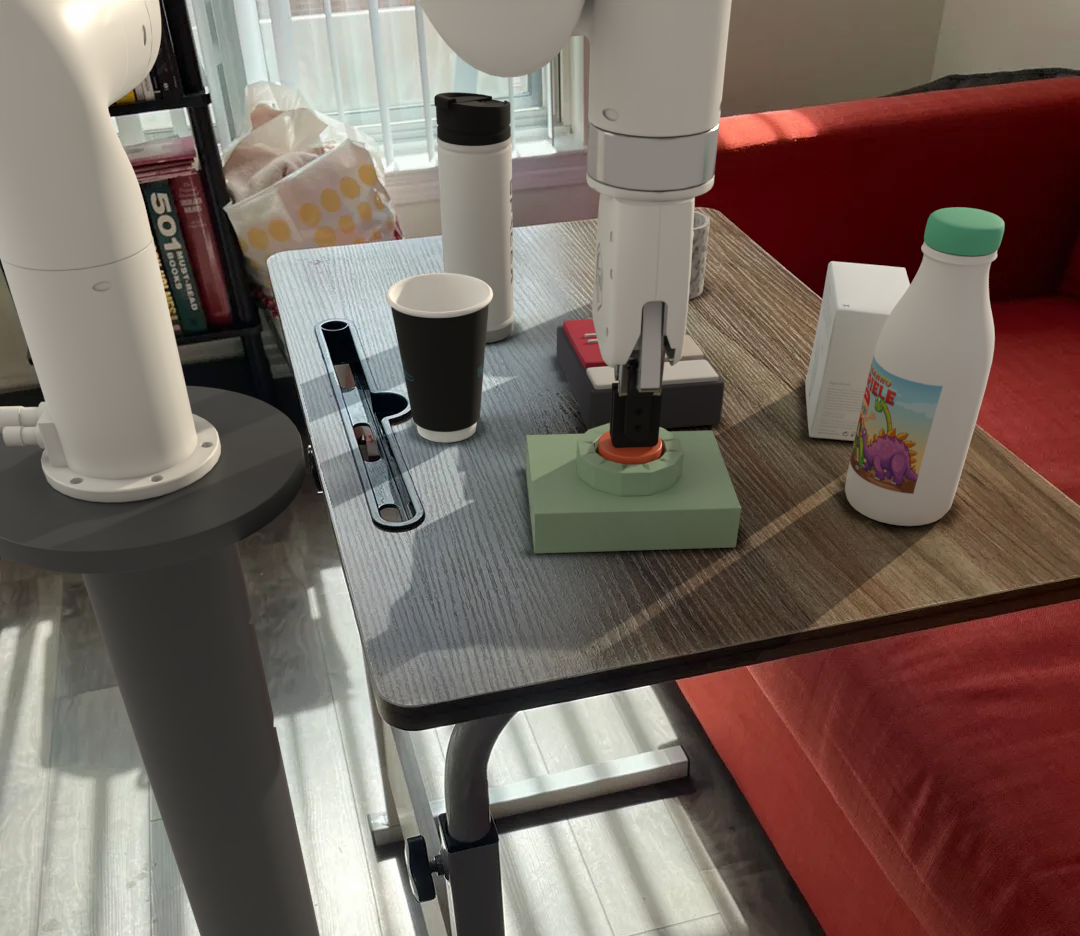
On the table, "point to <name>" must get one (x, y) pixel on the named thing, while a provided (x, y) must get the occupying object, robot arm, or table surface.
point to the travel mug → (478, 197)
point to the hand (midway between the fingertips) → (633, 441)
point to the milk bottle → (928, 376)
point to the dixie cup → (442, 350)
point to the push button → (628, 452)
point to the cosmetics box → (848, 343)
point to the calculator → (685, 385)
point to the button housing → (629, 495)
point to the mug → (699, 253)
